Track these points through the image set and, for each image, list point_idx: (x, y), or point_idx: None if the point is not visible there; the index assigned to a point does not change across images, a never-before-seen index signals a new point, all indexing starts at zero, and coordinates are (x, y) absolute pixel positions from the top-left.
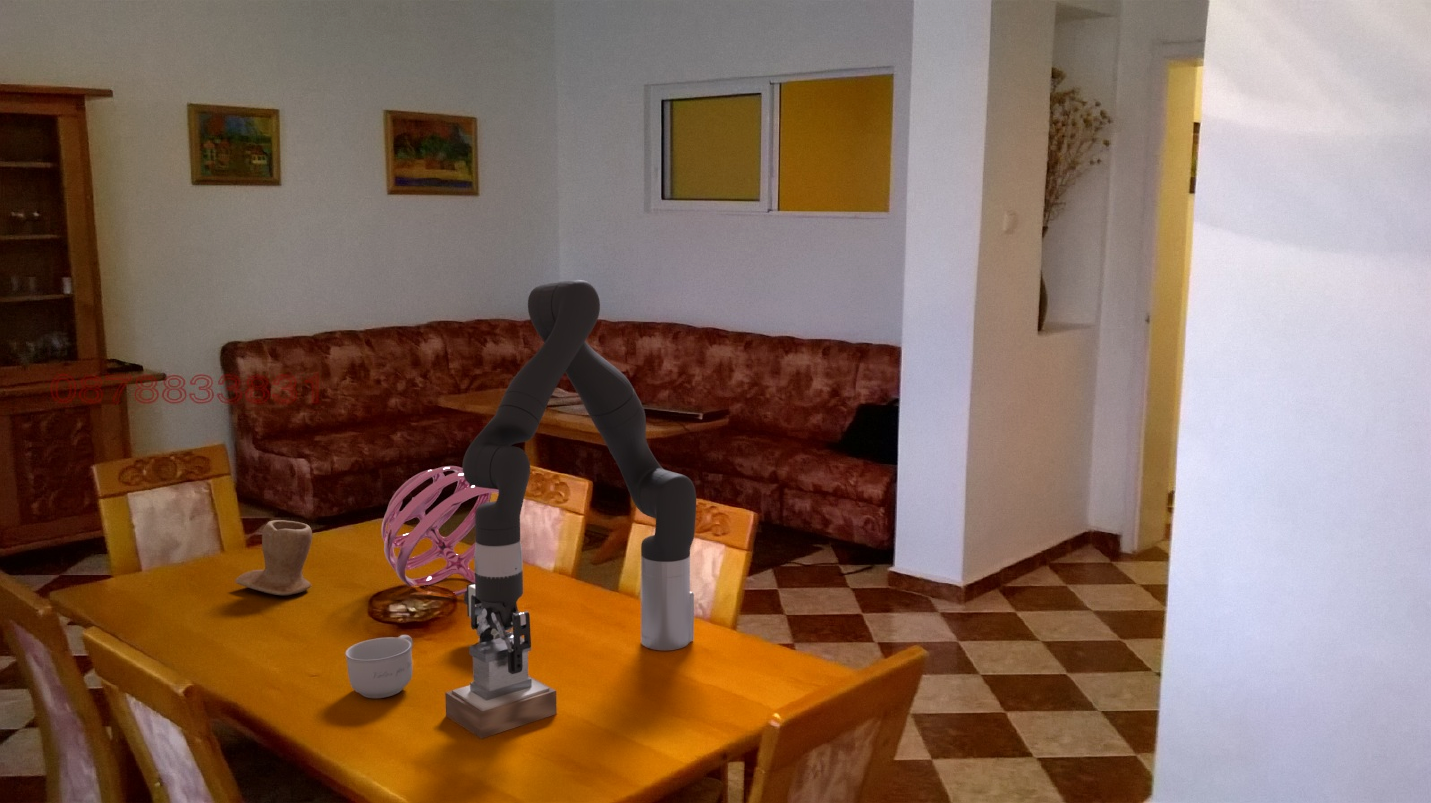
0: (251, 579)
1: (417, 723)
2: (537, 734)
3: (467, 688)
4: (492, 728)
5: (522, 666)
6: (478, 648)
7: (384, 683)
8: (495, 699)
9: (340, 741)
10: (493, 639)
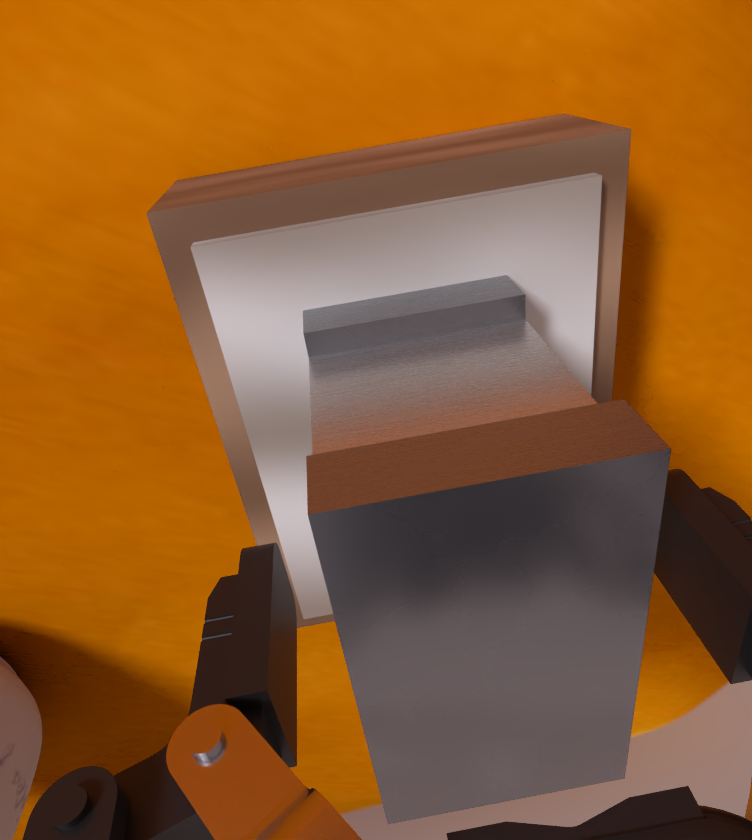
0: None
1: (301, 629)
2: (685, 304)
3: (320, 565)
4: None
5: (733, 502)
6: (478, 791)
7: (35, 756)
8: None
9: (314, 782)
10: (270, 650)
